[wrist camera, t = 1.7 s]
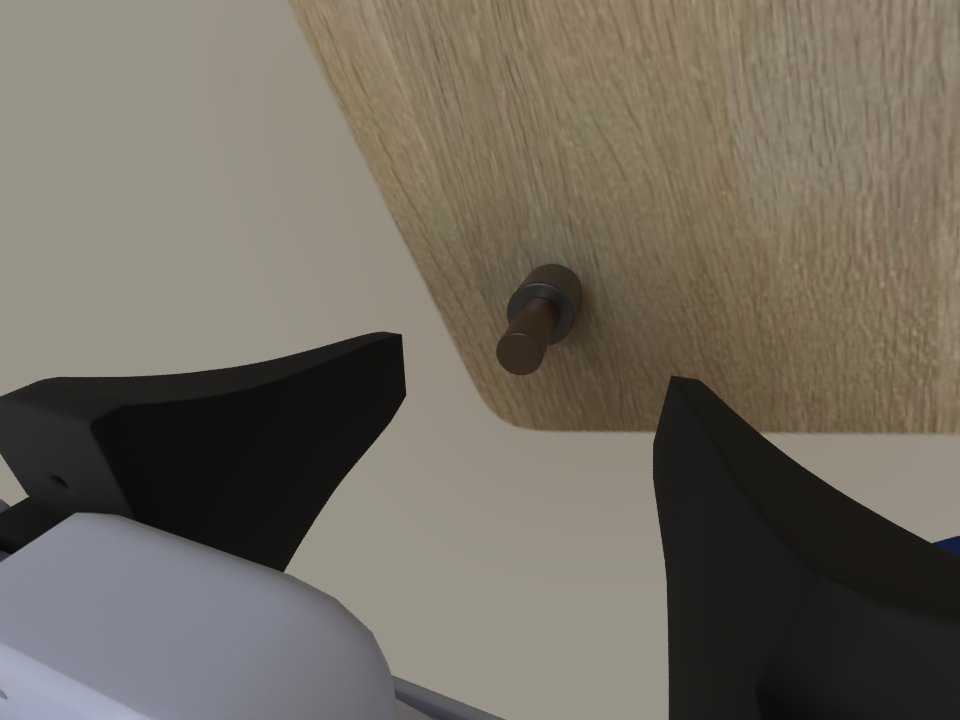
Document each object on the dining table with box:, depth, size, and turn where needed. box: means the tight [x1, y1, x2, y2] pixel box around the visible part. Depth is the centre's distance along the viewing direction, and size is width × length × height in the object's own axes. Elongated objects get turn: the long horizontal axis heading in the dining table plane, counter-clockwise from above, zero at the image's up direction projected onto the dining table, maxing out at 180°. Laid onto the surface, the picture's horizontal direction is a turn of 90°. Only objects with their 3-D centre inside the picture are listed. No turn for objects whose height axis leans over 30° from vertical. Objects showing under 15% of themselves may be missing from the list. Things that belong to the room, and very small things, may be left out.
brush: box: [496, 264, 582, 375], centre depth 17 cm, size 3×3×7 cm
